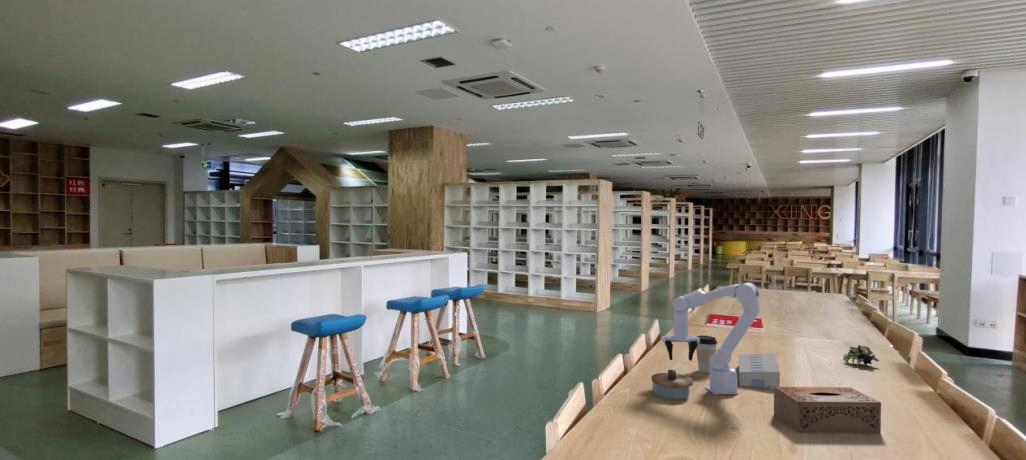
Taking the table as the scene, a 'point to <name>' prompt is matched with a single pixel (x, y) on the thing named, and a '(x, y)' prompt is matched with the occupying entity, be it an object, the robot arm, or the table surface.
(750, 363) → the warehouse
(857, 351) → the green leafy clump
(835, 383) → the table surface
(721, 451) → the table surface
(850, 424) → the tissue box cover
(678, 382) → the lid
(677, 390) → the bowl
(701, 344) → the coffee cup
